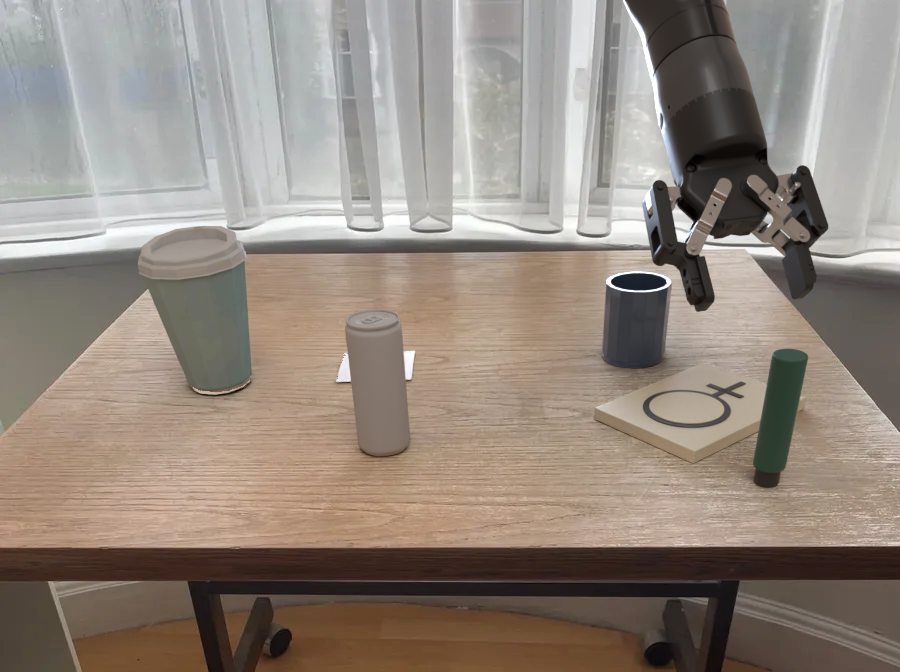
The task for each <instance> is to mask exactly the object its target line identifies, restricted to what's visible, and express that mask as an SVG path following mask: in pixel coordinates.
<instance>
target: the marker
mask: <svg viewBox="0 0 900 672" xmlns="http://www.w3.org/2000/svg"><path fill="white" fill-rule="evenodd" d="M808 360H809V355H808V353H806V352H805V351H803V350H800V349H796V348H780V349H776V350H774V351H773V352H772V354H771V359H770V364H769V365H770V366H769V371H768V377H767V381H766V383H767V387H766V392H765V398H764V403H763V409H762V414H761V420H760V425H759V431H758V432H757V436H756V442H755V448H754V454H753V460H752V467H754V468H755V469H754V473H753V474H754V475H753V482H754V483H755V484H756V485H757V486H759V487H762V488H773V487H776V486H778V484H779V483H780V479H781V472H783V471H784V470H785V469H786V468H787V464H788V463H787V462H788V457H789V453H790V448H791V443H792V438H793V433H794V429H795V424H796V420H797V419H796V418H797V414H798V412H797V410H798V405H799V400H800V395H801V396H802V390H803V385H804V380H805V376H806V371H807V367H808V366H807V365H808Z"/></svg>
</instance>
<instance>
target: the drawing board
mask: <svg viewBox="0 0 900 672" xmlns="http://www.w3.org/2000/svg"><path fill="white" fill-rule="evenodd" d="M766 387H767V382H763V381H761V380H758V379H756V378H752V377H749V376H747V375H743V374H741V373H738V372H736V371H732V370H730V369H727V368H724V367H721V366H718V365H715V364H712V363H709V362H707V361H704V362H700V363H698V364H696V365H693V366H692V367H691V366H690V367H689V368H687V369H684V370H681V371H680V372H676V373H675V374H672V375H670V376H667V377H665V378H663V379H660V380H658V381H655V382H653V383H650V384H648V385H646V386H644V387H640V388H638V389H636V390H634V391H631V392H628V393H627V394H625V395H622V396H619V397H617V398H614V399H611V400H609V401H608V402H605V403H602V404H600V405H597V406H595V407H594V410H593V411H594V414H593V420H596V421H598V422H600V423H602V424H605V425H606V426H609V427H611V428H613V429H615V430H618V431H620V432H622V433H624V434H627V435H629V436H631V437H634V438H636V439H638V440H639V441H643V442H644V443H646V444H649V445H651V446H653V447H656V448H657V449H660V450H662V451H664V452H667V453H669V454H671V455H674V456H676V457H678V458H680V459H682V460H684V461H687V462H688V463H691V464H696V463H697V462H699V461H702V460H703V459H705V458H707V457H709V456H712V455H714V454H715V453H717V452H719V451H722V450H723V449H726V448H728V447H730V446H731V445H733V444H736V443H737V442H740V441H742V440H744V439H746V438H748V437H750V436H752V435H754V434H756V433H758V431H759V425H760V420H761V414H762V409H763V403H764V398H765V392H766ZM806 400H807V397H806V396H803V395H802V394H801V395H800V400H799V405H798V410H797V413H799V412H800V411H803V410H804V409H805V405H806Z"/></svg>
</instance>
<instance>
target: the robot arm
mask: <svg viewBox="0 0 900 672" xmlns="http://www.w3.org/2000/svg"><path fill="white" fill-rule="evenodd" d="M622 1H623V3H624V5H625V8H626V10H627V12H628V14H629V16H630V18H631V20H632V22H633V24H634V26H635V27H636V29H637V31H638V33H639V36H640V38H641V42H642V46H643V52H644V56H645V60H646V64H647V68H648V69H647V70H648V72H649V76H650V81H651V85H652V88H653V95H654V106H655V112H656V118H657V123H658V127H659V129H660V132H661V136H662V137H661V138H662V140H663V144H664V148H665V149H664V150H665V152H666V156H667V160H668V164H669V168H670V172H671V176H672V180H673V183H674V184H675V186H668V184H667V183H666V182H665V181H664V180H662V179H657V180H654V182H653V183H652V185H651V187H650V189H649V190H648V192H647V193H646V195H645V197H644V199H643V200H642V203H641V206H642V211H643V216H644V222H645V227H646V234H647V238H648V244H649V249H650V254H651V260H652V263H653V264H654V265H655V266H657V267H663V266H666V265H670V266H674V267H675V268H676V269H677V270H678V271H679V274H680V278H681V282H682V287H683V290H684V293H685V298H686V301H687V302H688V304H689V306H693V308H694V311H695V312H696V313H700V312H707V310H709V309H710V307H711V306H712V305H713V304H714V302H715V299H716V297H715V296H716V295H715V291H714V287H713V282H712V280H711V274H710V271H709V268H708V264H707V260H706V255H702V256H701V255H700V253H701V252H702V250H703V248H704V245H705V243H706V241H707V239H708V236H711V237H713V240H718V239H724V238H726V237H729V236H737V237H744V236H749V235H751V234H752V235H753V236H754V237H755V238H756V239H758V240H759V241H760V242H761V243H763V244H770V245H771V246H772V247H773V248H774V249H775V250H777V251H778V252H779V253H780V254H781V255H782V256H783V258H782V259H781V262H782V266H783V270H784V274H785V277H786V281H787V285H788V288H789V289H788V290H789V292H790V296H791V298H792V299H793V300H799V299H800V300H801V299H804V298H805V297H806V296H807V295H808V294H809V293H810V292H811V291H812V290H813V289H814V285H815V283H817V273H816V269H815V265H814V262H813V258H812V254H811V250H810V248H811V247H812V246H814V244H815V243H816V242H817V241H818V240H819V239H820V238H821V237H822V236H823V235H824V234H825V233H826V232H827V231H828V230H829V223H828V220H827V217H826V214H825V211H824V208H823V205H822V202H821V199H820V196H819V193H818V190H817V188H816V184H815V181H814V179H813V175H812V172H811V170H810V168H809V167H808V166H807V165H805V164H800V165H798V166H797V167H796V168H795V170H794V171H793V172H791V173H785V174H779V175H777V174H776V173H775V171H773V169H772V167H770V165H769V161H768V141H767V139H766V134H765V131H764V127H763V123H762V120H761V115H760V112H759V109H758V105H757V100H756V97H755V93H754V90H753V86H752V83H751V79H750V75H749V73H748V70H747V66H746V64H745V61H744V60H743V57H742V56H741V53H740V50H739V47H738V45H737V41H736V37H735V33H734V29H733V26H732V23H731V18H730V14H729V11H728V8H727V5H726V2H725V0H622ZM780 198H781V199H780ZM676 206H677V208H678V209H679V210H680V211H681V212H683V214H685V216H686V217H687V218H689V220H691V221H692V223H691V225H690V226H689V229H688V231H687V233H686V235H685V237H684V239H683V242H682V241H679V240H678V235H677V231H676V225H675V220H674V214H673V211H674V210H675V208H676ZM768 214H770V215H771V217H772V222H771V223H767V222H766V221H765V219H766V217H767V215H768Z"/></svg>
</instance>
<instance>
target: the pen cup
mask: <svg viewBox="0 0 900 672" xmlns="http://www.w3.org/2000/svg"><path fill="white" fill-rule="evenodd" d="M672 286H673V283H672V279H671V278H670V277H667V276H666V275H663V274H660V273H656V272H651V271H650V272H649V271H628V272H619V273H617V274H613V275H611V276H609V277H608V278H607V279H606V280H605V294H604V309H603V310H604V311H603V324H602V325H603V327H602V342H601V359H602V360H603V361H604V362H606V363H607V364H610V365H612V366H615V367H619V368H624V369H625V368H626V369H643V368H650V367H653V366H656V365H658V364H660V363H661V362H663V360H664V358H665V353H666V352H665V351H666V344H667V343H666V342H667V335H668V324H669V314H670V306H671V298H672V297H671V294H672Z"/></svg>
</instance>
